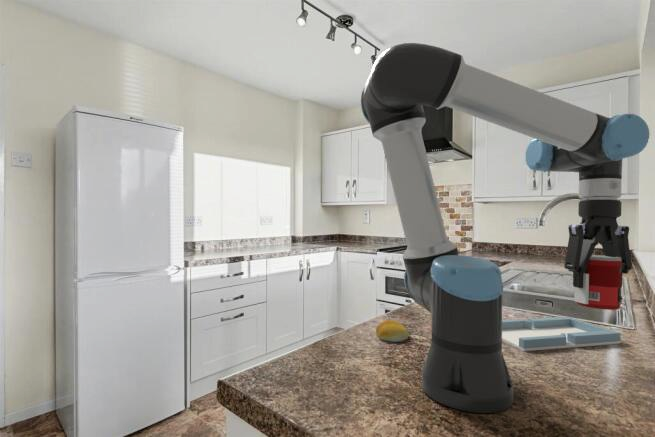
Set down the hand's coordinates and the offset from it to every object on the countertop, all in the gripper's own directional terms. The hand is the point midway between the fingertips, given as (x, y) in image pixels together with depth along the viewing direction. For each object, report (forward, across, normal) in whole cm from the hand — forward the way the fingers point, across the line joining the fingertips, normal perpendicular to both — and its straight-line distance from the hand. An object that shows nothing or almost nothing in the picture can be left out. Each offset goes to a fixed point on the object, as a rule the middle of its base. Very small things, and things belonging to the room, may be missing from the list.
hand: (597, 302), depth 77 cm
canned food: (+1, 0, 0) cm, 1 cm away
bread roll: (+14, -39, +22) cm, 47 cm away
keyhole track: (+12, +1, +14) cm, 19 cm away
